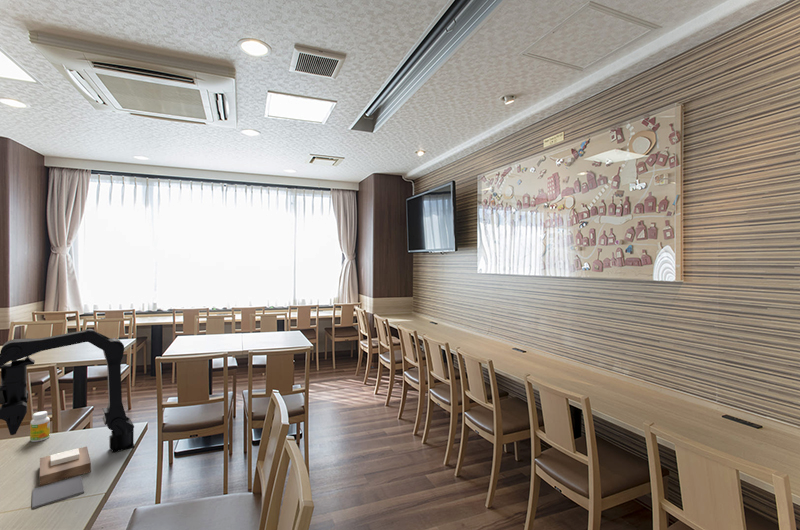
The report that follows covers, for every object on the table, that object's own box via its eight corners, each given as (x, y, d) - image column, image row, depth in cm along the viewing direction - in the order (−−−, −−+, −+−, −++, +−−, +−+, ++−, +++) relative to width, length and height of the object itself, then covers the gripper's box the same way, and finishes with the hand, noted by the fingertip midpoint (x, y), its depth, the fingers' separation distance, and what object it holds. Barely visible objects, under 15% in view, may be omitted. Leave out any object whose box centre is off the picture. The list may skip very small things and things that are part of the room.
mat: (81, 476, 121) (81, 475, 121) (83, 492, 113) (83, 491, 113) (32, 490, 113) (32, 488, 113) (31, 509, 105) (31, 507, 105)
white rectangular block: (78, 452, 129) (78, 448, 129) (79, 458, 126) (79, 454, 126) (50, 459, 124) (50, 455, 124) (50, 466, 121) (50, 461, 121)
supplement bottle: (27, 443, 141) (27, 417, 141) (33, 437, 145) (33, 411, 145) (46, 440, 143) (47, 414, 143) (51, 434, 148) (52, 409, 148)
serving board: (86, 454, 134) (87, 446, 134) (90, 471, 123) (90, 462, 123) (39, 467, 125) (39, 458, 125) (39, 486, 115) (39, 476, 115)
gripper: (-21, 378, 121) (-21, 426, 122) (-29, 394, 108) (-29, 449, 108) (28, 371, 129) (28, 417, 129) (26, 386, 115) (26, 437, 116)
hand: (13, 429), depth 120 cm, fingers open, 9 cm apart
